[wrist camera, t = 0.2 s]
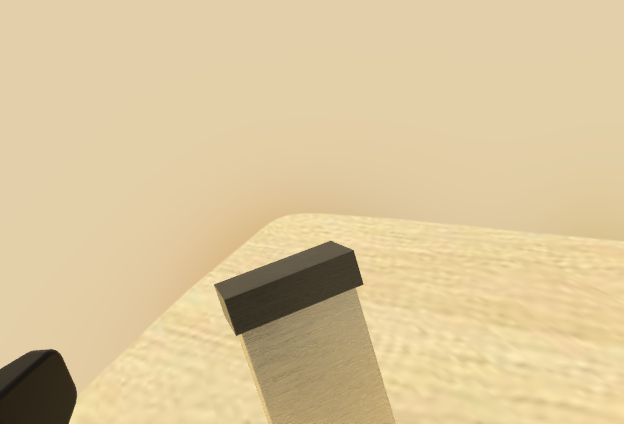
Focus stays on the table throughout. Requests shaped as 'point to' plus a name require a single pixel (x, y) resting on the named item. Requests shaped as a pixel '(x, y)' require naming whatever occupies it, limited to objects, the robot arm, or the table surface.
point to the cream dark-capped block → (308, 339)
